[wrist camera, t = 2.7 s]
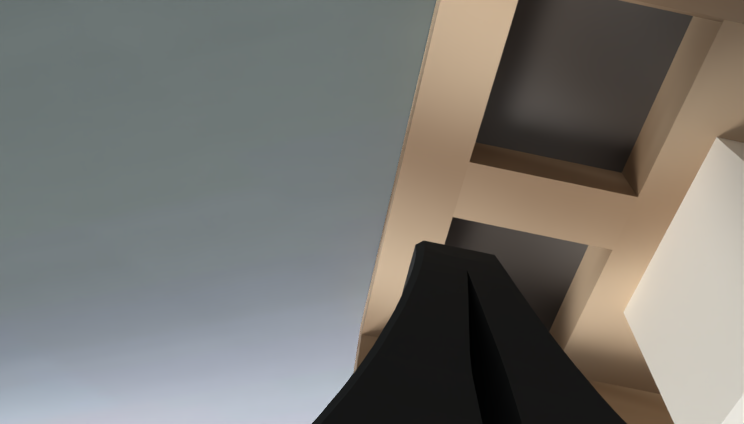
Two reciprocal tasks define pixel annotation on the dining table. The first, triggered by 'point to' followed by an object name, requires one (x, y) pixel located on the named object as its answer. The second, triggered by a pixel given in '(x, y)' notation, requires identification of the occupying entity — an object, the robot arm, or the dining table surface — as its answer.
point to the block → (698, 297)
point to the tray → (563, 160)
